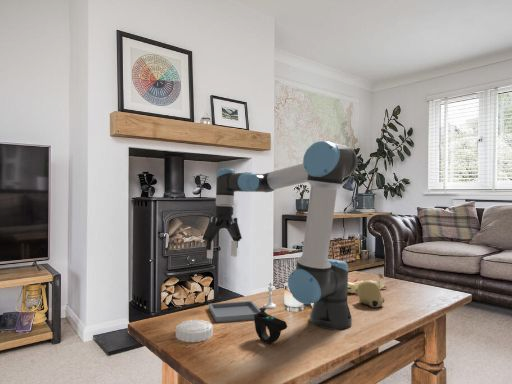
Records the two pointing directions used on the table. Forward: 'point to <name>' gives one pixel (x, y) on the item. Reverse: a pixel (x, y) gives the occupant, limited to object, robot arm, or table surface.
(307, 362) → the table surface
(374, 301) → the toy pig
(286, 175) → the robot arm
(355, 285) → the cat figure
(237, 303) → the tray
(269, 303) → the chess piece
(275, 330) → the controller
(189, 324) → the mooncake
